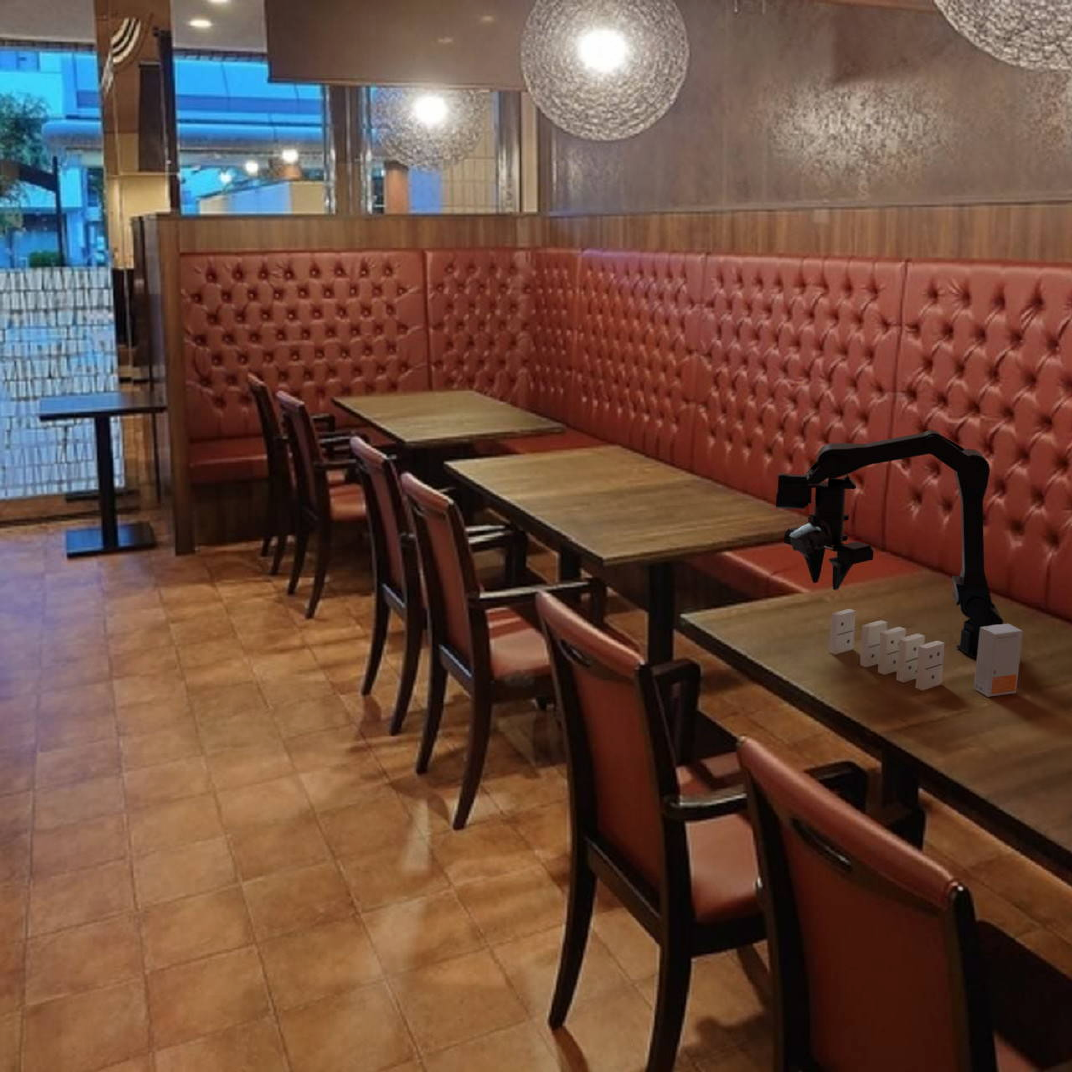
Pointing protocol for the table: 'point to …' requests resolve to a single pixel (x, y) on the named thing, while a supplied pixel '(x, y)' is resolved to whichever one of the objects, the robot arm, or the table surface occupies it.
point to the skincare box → (998, 659)
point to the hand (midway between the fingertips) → (825, 586)
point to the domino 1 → (842, 631)
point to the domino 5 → (930, 665)
